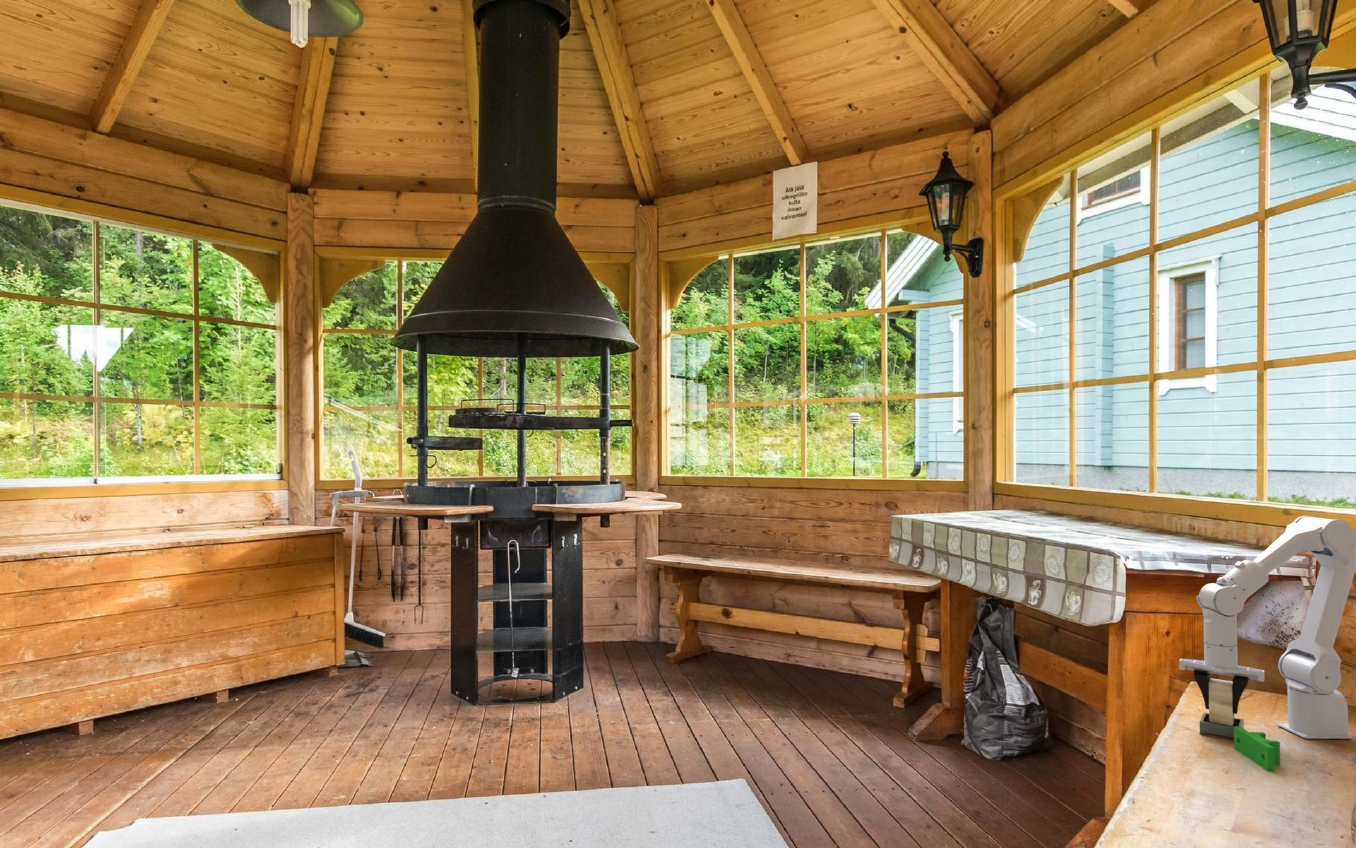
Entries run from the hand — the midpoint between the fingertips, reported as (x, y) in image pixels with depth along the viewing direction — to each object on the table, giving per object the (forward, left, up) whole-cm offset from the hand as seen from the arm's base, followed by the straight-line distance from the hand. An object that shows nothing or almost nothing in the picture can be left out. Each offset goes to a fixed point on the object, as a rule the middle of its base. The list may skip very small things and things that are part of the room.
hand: (1221, 710), depth 169 cm
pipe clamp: (+2, +14, -5) cm, 15 cm away
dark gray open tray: (0, 0, -5) cm, 5 cm away
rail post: (0, 0, -2) cm, 2 cm away
